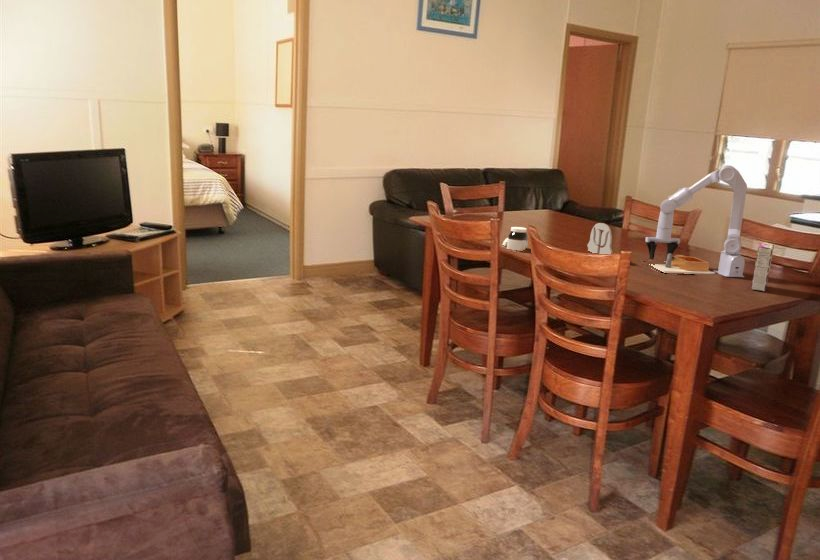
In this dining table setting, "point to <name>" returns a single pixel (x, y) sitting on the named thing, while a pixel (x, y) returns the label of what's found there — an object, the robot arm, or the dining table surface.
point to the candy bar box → (762, 267)
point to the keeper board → (676, 268)
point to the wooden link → (689, 263)
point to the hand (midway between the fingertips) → (659, 259)
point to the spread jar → (517, 239)
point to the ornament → (596, 239)
